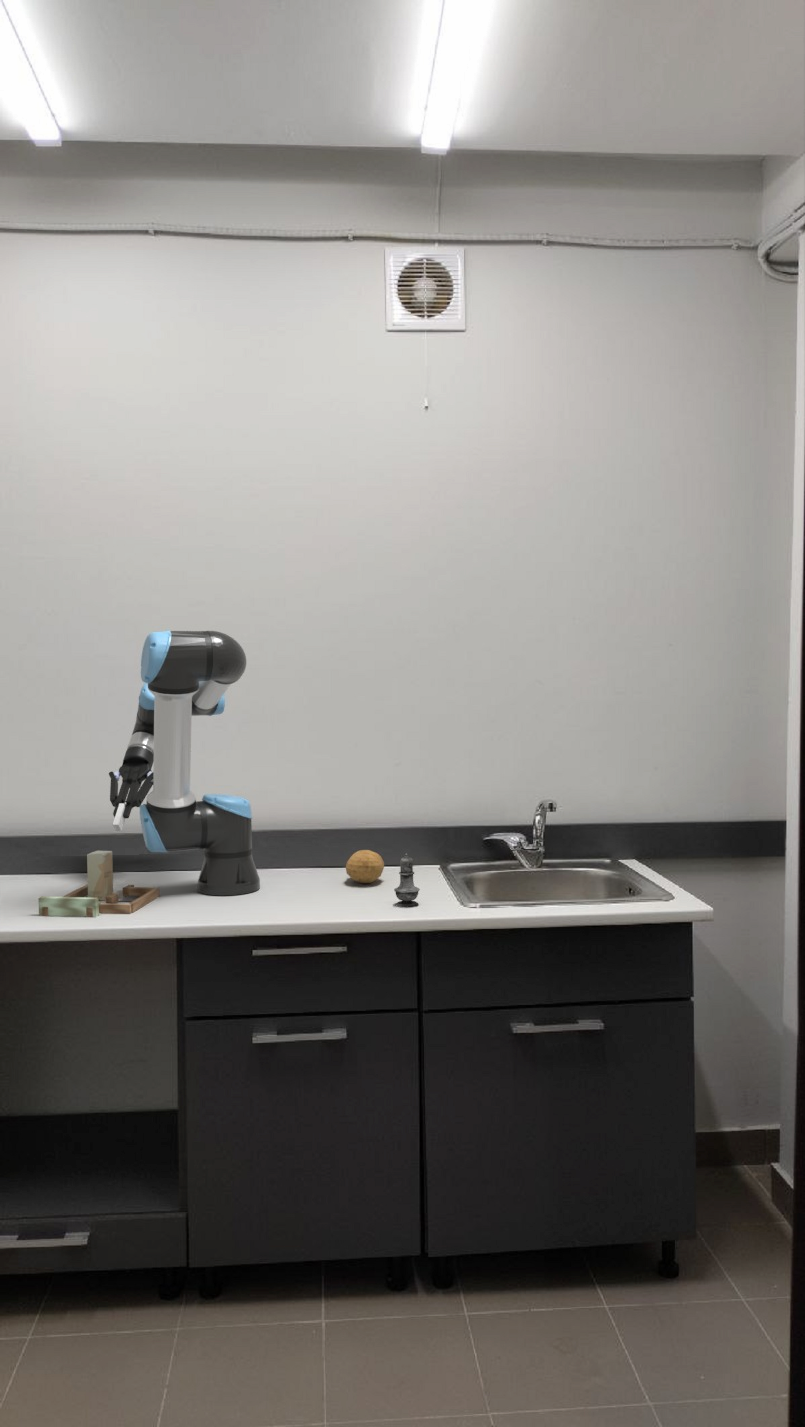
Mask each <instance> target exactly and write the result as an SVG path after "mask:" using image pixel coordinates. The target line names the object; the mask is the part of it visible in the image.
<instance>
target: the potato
mask: <svg viewBox="0 0 805 1427" xmlns="http://www.w3.org/2000/svg"><path fill="white" fill-rule="evenodd" d="M384 868H385V862H384V860H383V858H382V856H381V855H380V854H378V853H377V852H375V851H372V850H370V849H361V850H358V851H356V852H354V853H353V854H352V855H351V856H350V857H349V859H348V860H347V861H346V864H345V871H346V872H345V873H346V874H347V875H348V876H349V877H350V878H351V879H352V880H353V881H355V882H358V883H360V884H366V883H367V884H368V883H369V884H370V883H373V882H375V881H376V880H378V879H379V878H380V877H381V876H382V874H383V871H384Z"/></svg>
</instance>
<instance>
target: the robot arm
mask: <svg viewBox="0 0 805 1427" xmlns="http://www.w3.org/2000/svg"><path fill="white" fill-rule="evenodd" d="M246 655H247V654H246V652H245V651H244V648H243V647H242V646H241V645H240V643H239V642H238V641H237V640H235V639H234V638H233V637H232V636H230V635H229V634H227V633H223V632H221V631H216V630H168V629H167V630H165V631H153V632H150V633H149V634H148V635H147V636H146V637H145V640H144V643H143V647H142V653H141V658H140V679H141V681H142V682H143V683H144V684H143V686H142V687H141V689H140V692H139V695H138V706H137V711H136V718H135V724H134V727H133V730H132V733H131V736H130V739H129V742H128V744H127V747H126V752H125V754H124V757H123V760H122V764H121V766H120V767H119V768H118V770H117V771H115V772H114V771H110V772H109V773H108V776H109V778H110V786H109V787H110V788H109V789H110V790H109V792H110V793H109V801H110V803H111V805H112V806H113V807H114V810H113V812H112V815H113V817H114V819H113V822H112V826H113V828H114V830H115V831H117V832H122V830H123V828H124V824H125V821H126V819H129V818H130V816H131V813H132V810H133V808H135V807H136V808H139V819H140V820H139V821H140V825H141V831H142V835H143V841H144V844H145V847H146V849H147V850H148V851H149V852H151V853H165V854H166V853H167V854H168V853H170V852H181V851H182V852H183V851H194V850H204V851H203V852H204V853H203V854H204V856H203V857H204V858H203V862H202V866H201V869H200V872H199V876H198V880H197V891H198V892H199V893H200V894H204V895H210V896H236V895H244V894H250V893H253V892H257V891H258V890H259V889H261V879H260V876H259V872H258V871H257V868H256V864H255V861H254V859H253V834H252V827H253V826H252V819H253V816H252V808H251V807H252V806H251V803H250V800H248V799H246V798H245V797H241V796H239V795H238V796H237V795H231V794H221V793H219V794H218V793H206V794H203V796H202V798H201V800H199V801H197V796H196V795H195V793H193V792H192V791H191V760H192V759H191V757H192V756H191V752H192V750H191V748H192V717H193V716H194V717H195V716H209V717H211V716H215V715H218V716H219V715H222V714H223V713H224V712H225V707H226V696H225V694H226V692H227V690H228V689H229V687H230V686H231V685H232V684H234V683H236V682H238V681H239V680H240V679H241V678H242V676H243V675H244V673H245V671H246V668H247V656H246ZM152 767H153V771H152ZM120 777H121V778H122V779H121V780H122V781H121V785H120V788H119V782H118V781H120ZM152 788H153V789H152ZM151 789H152V791H151ZM145 799H146V803H143V802H144V800H145Z"/></svg>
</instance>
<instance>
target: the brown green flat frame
mask: <svg viewBox="0 0 805 1427" xmlns="http://www.w3.org/2000/svg"><path fill="white" fill-rule="evenodd" d="M159 891H160V888H159V887H149V886H147V887H145V886H138V887H137V886H135V884H127V885H125V886H124V887H122V897H123V898H121V899H120V897H119V896H120V894H119V893H114V892H113V893H112V894H111V895H109V896H107V897H106V900H105V903H102V902H101V901H99V900H98V898H89V897H88V883H87V884H85V885H83V886H81V887H79V888H76V889H75V890H72V891H70V892H68V893H67V894H65V895H62V896H39V897H37V898H38V903H37V904H38V916H40V917H78V916H81V917H82V918H84V916H86V917H85V918H97V917H98V916H100V914H115V915H116V914H119V915H120V914H121V915H122V914H123V915H131V914H134V913H135V912H136V911H138V910H139V909H141V908H143V907H144V906H146V905H148V904H150V903H151V902H153V901H155V900H156V899H158V898H159V897H160V892H159ZM86 895H87V896H86ZM157 897H158V898H157ZM81 917H80V918H81Z"/></svg>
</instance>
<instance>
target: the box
mask: <svg viewBox="0 0 805 1427" xmlns="http://www.w3.org/2000/svg"><path fill="white" fill-rule="evenodd" d="M86 861H87V862H86V864H87V865H86V866H87V867H86V869H87V872H86V873H87V884H88V895H87V897H89V898H98V901H106V897H107V896H109V895H111V894H112V893H114V877H113V876H114V871H113V870H114V869H113V867H114V866H113V851H112V850H95V851H92V852H90V853H87V855H86Z"/></svg>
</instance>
